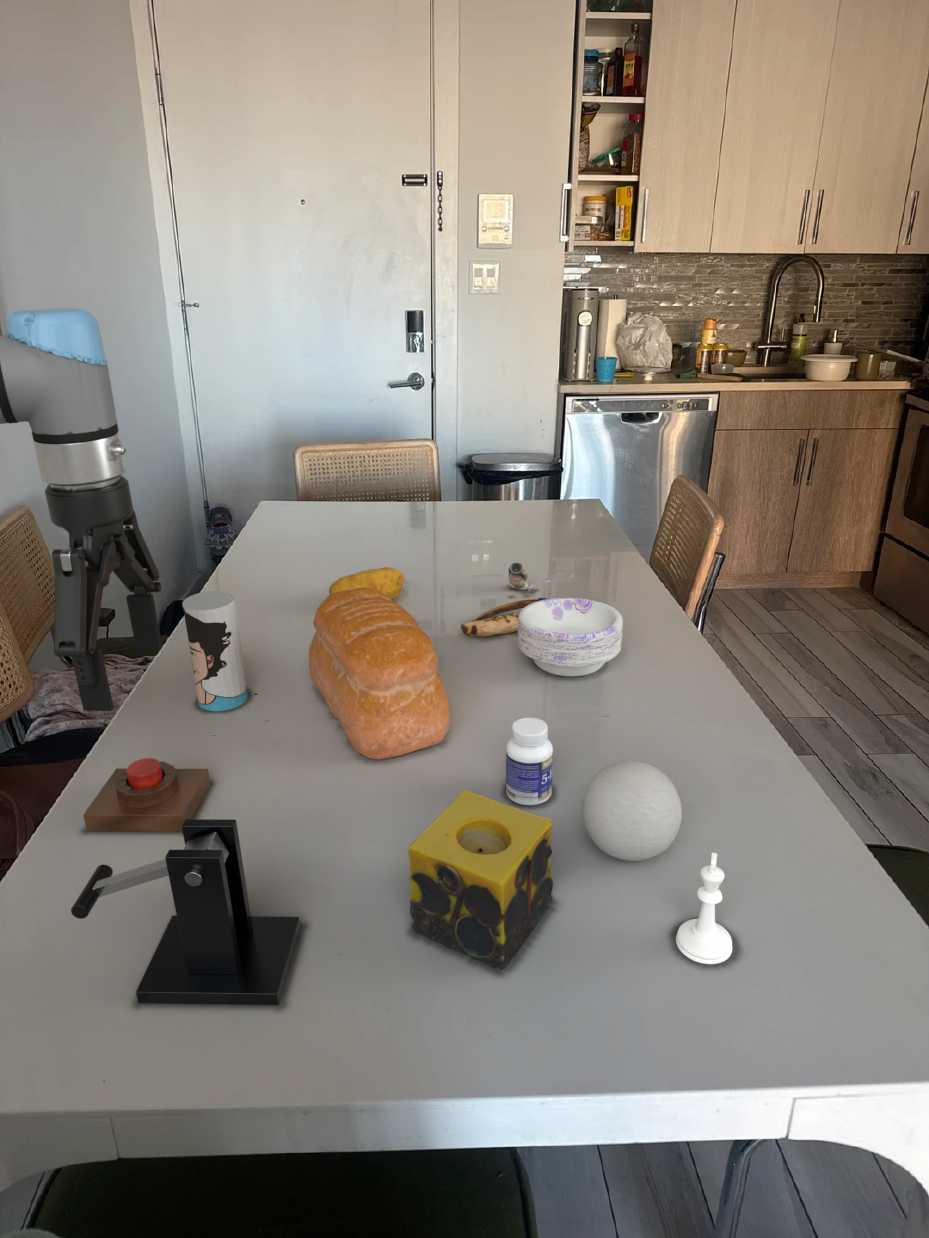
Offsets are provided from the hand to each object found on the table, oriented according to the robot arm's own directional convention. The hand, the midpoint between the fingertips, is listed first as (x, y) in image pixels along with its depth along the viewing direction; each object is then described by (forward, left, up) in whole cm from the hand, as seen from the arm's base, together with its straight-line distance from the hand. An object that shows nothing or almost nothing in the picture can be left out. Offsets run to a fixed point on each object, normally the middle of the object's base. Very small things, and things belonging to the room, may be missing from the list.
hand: (125, 677), depth 92 cm
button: (0, 0, -13) cm, 13 cm away
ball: (+53, -7, -17) cm, 56 cm away
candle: (+38, -17, -17) cm, 45 cm away
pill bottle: (+43, +3, -17) cm, 46 cm away
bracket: (+15, -23, -17) cm, 32 cm away
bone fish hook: (+41, +49, -17) cm, 66 cm away
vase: (+43, +64, -17) cm, 79 cm away
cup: (+1, +25, -17) cm, 30 cm away
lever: (+10, -23, -8) cm, 26 cm away
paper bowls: (+50, +36, -17) cm, 64 cm away
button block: (0, 0, -17) cm, 17 cm away
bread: (+23, +22, -17) cm, 36 cm away
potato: (+17, +58, -17) cm, 63 cm away
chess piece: (+58, -20, -17) cm, 63 cm away
